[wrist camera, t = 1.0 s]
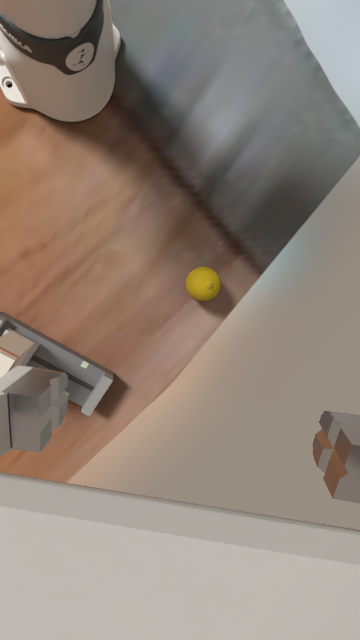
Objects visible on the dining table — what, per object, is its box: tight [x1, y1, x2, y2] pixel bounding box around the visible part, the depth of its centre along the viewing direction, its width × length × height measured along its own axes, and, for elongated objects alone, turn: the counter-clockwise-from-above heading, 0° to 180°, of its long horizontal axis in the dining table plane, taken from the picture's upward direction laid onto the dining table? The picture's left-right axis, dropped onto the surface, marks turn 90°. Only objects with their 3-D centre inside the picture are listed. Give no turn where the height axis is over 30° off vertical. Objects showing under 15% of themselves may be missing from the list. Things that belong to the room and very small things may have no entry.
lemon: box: [186, 267, 221, 301], centre depth 49 cm, size 6×6×8 cm
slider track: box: [0, 312, 113, 416], centre depth 48 cm, size 20×7×4 cm, turn 57°
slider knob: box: [0, 328, 40, 378], centre depth 41 cm, size 5×6×10 cm
